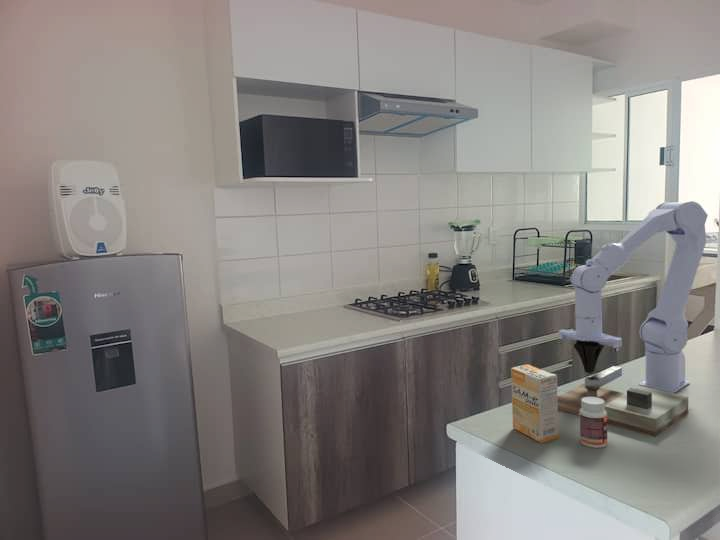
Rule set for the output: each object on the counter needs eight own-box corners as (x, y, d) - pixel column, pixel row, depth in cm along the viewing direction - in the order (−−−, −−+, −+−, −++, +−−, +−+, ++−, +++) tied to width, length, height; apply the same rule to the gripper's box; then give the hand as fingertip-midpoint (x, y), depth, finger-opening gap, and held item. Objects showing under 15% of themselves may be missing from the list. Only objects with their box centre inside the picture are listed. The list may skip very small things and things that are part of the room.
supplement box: (511, 429, 105) (509, 367, 104) (530, 423, 107) (528, 363, 106) (540, 444, 98) (538, 378, 96) (559, 438, 99) (557, 373, 98)
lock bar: (595, 391, 112) (595, 382, 112) (582, 388, 114) (582, 379, 114) (624, 376, 120) (624, 367, 120) (611, 373, 122) (611, 365, 122)
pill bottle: (610, 448, 94) (610, 405, 93) (583, 448, 95) (582, 404, 94) (603, 437, 99) (603, 395, 98) (577, 436, 100) (576, 395, 99)
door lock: (583, 387, 125) (582, 362, 125) (688, 412, 107) (688, 382, 107) (546, 406, 116) (546, 378, 115) (655, 436, 98) (655, 404, 97)
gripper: (551, 315, 124) (552, 369, 126) (611, 323, 113) (611, 382, 114) (566, 310, 128) (568, 363, 130) (626, 317, 117) (626, 374, 118)
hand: (589, 371), depth 122 cm, fingers closed
